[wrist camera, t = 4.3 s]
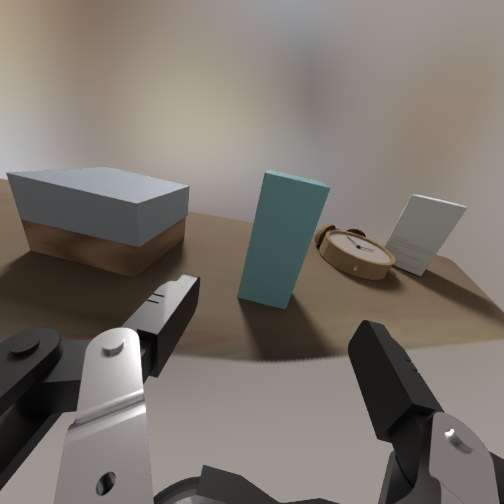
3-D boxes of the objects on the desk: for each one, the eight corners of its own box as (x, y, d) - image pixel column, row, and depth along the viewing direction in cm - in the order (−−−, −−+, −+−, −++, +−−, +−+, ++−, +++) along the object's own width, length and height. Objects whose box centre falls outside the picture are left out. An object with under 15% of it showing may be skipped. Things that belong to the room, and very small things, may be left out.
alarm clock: (349, 262, 27) (311, 211, 39) (332, 286, 30) (302, 233, 42) (413, 269, 30) (360, 220, 42) (393, 292, 33) (348, 239, 45)
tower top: (20, 219, 18) (6, 172, 16) (110, 197, 28) (107, 166, 26) (139, 247, 18) (137, 203, 16) (187, 215, 28) (189, 186, 26)
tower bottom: (31, 253, 20) (19, 216, 19) (114, 223, 30) (111, 196, 29) (134, 281, 20) (132, 245, 18) (184, 240, 30) (185, 214, 28)
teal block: (237, 297, 20) (264, 172, 15) (245, 272, 25) (268, 169, 20) (285, 309, 20) (330, 187, 15) (284, 282, 25) (319, 181, 19)
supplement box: (422, 267, 40) (464, 205, 35) (420, 277, 35) (469, 207, 30) (383, 251, 44) (415, 193, 39) (375, 258, 39) (411, 193, 34)
